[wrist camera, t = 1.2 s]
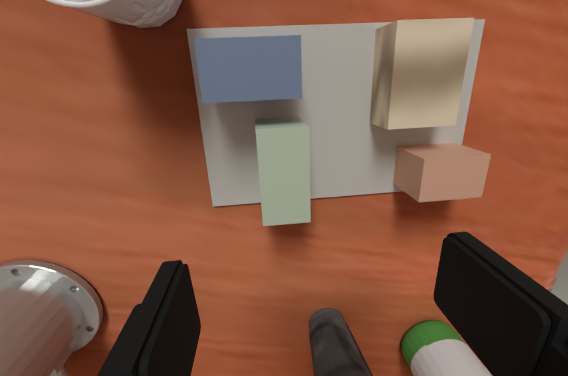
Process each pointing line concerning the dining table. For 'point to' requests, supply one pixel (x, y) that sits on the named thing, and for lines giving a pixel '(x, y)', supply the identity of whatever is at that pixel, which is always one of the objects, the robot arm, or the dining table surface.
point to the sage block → (284, 170)
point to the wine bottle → (439, 352)
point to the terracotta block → (440, 171)
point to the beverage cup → (334, 346)
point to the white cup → (126, 10)
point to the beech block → (419, 72)
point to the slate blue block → (249, 68)
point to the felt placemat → (318, 116)
